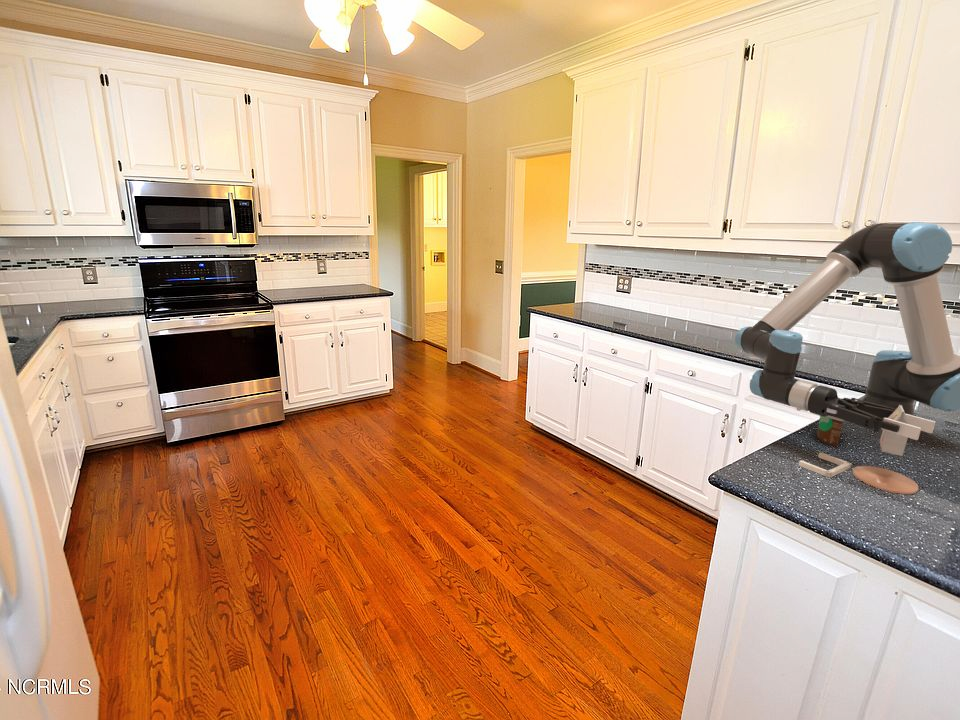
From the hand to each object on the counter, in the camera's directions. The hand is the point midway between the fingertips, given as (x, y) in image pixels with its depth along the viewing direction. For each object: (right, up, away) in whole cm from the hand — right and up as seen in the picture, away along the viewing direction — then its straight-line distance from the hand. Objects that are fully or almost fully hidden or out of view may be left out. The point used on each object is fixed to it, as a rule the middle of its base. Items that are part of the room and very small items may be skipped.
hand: (926, 430), depth 106 cm
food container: (0, -7, +31) cm, 32 cm away
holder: (-13, -11, +14) cm, 22 cm away
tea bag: (-3, -5, +6) cm, 8 cm away
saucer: (-3, -13, +8) cm, 15 cm away
